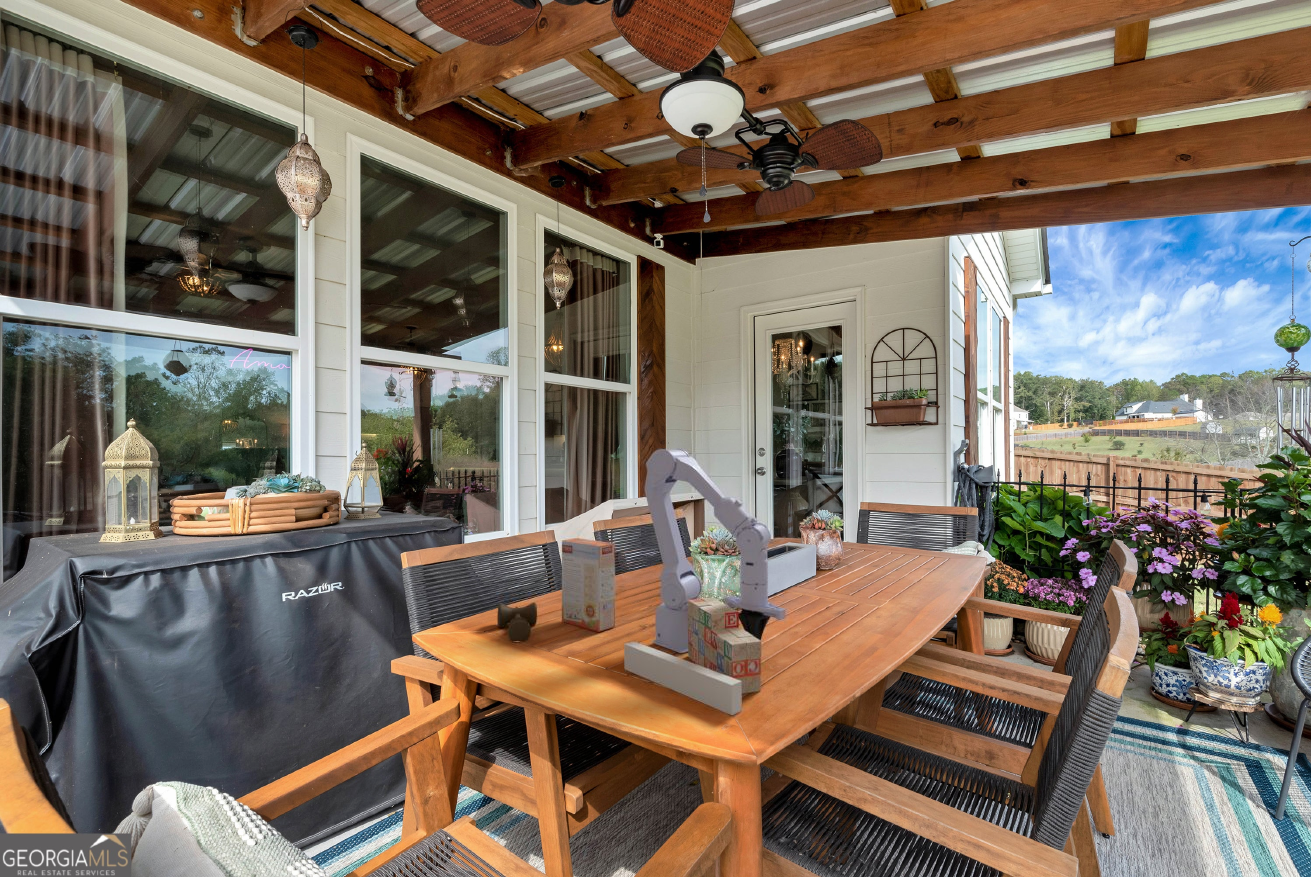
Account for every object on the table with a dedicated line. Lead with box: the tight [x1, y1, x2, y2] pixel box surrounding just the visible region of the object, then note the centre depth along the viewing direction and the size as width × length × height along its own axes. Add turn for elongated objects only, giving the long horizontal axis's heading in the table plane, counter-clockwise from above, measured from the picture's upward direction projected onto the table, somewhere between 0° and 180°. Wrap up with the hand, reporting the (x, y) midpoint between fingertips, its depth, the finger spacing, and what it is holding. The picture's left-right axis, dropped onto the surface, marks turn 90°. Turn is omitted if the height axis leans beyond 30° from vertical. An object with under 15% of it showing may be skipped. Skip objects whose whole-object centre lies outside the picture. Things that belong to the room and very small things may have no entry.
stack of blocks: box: [687, 597, 762, 695], centre depth 118 cm, size 21×6×12 cm, turn 18°
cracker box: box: [561, 537, 616, 633], centre depth 149 cm, size 14×6×21 cm, turn 48°
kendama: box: [496, 602, 538, 642], centre depth 145 cm, size 6×10×20 cm
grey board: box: [623, 640, 743, 716], centre depth 110 cm, size 28×2×5 cm, turn 43°
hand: (754, 646), depth 125 cm, fingers closed
